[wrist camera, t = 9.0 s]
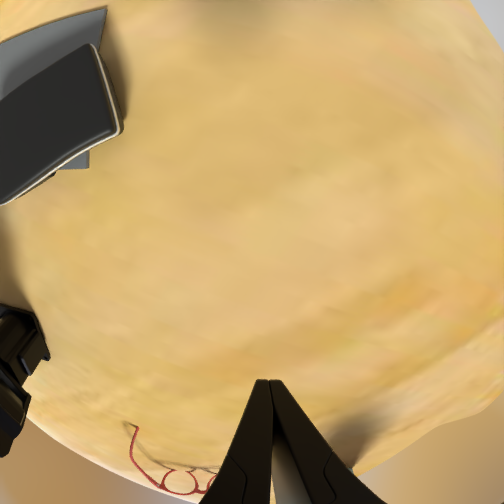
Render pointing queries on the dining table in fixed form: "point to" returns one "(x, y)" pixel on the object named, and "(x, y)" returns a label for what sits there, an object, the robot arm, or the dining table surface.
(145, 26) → the dining table surface
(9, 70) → the mat
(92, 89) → the battery charger
